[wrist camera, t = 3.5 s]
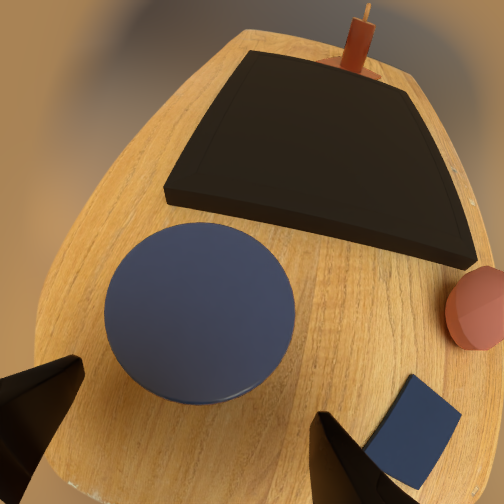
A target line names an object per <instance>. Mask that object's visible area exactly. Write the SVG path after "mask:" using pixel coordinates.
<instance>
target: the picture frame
mask: <svg viewBox="0 0 504 504" xmlns="http://www.w3.org/2000/svg"><path fill="white" fill-rule="evenodd" d="M163 188H164V192H165V197H166V201H167V204H168V205H174V206H180V207H185V208H191V209H197V210H202V211H207V212H213V213H218V214H223V215H229V216H234V217H239V218H244V219H249V220H254V221H259V222H264V223H269V224H274V225H279V226H283V227H288V228H293V229H298V230H302V231H307V232H311V233H316V234H320V235H325V236H329V237H334V238H338V239H343V240H347V241H351V242H355V243H360V244H364V245H368V246H372V247H376V248H381V249H385V250H389V251H393V252H397V253H401V254H405V255H409V256H413V257H417V258H420V259H424V260H428V261H432V262H436V263H439V264H443V265H447V266H450V267H454V268H458V269H461V270H467V269H468V268H469V267H471V266H472V265H473V264H474V263H476V262H477V261H478V259H477V255H476V251H475V247H474V243H473V239H472V236H471V232H470V229H469V226H468V223H467V219H466V216H465V213H464V210H463V207H462V205H461V202H460V199H459V196H458V194H457V191H456V188H455V186H454V183H453V181H452V178H451V176H450V174H449V171H448V169H447V167H446V165H445V162H444V160H443V158H442V156H441V154H440V152H439V150H438V147H437V145H436V143H435V141H434V139H433V138H432V136H431V134H430V132H429V130H428V128H427V126H426V124H425V123H424V121H423V119H422V117H421V116H420V114H419V112H418V110H417V109H416V107H415V105H414V104H413V102H412V101H411V99H410V97H409V96H408V94H407V93H406V92H405V91H403V90H400V89H398V88H396V87H393V86H391V85H388V84H385V83H383V82H380V81H377V80H375V79H372V78H369V77H366V76H363V75H360V74H357V73H354V72H351V71H347V70H344V69H341V68H337V67H334V66H330V65H326V64H322V63H318V62H314V61H310V60H305V59H301V58H296V57H291V56H285V55H280V54H274V53H267V52H260V51H252V50H250V51H249V52H248V53H247V55H246V56H245V57H244V59H243V60H242V61H241V63H240V64H239V65H238V67H237V68H236V69H235V71H234V72H233V74H232V75H231V76H230V78H229V79H228V81H227V82H226V83H225V85H224V86H223V88H222V89H221V91H220V92H219V94H218V95H217V97H216V98H215V100H214V101H213V103H212V104H211V106H210V107H209V109H208V110H207V112H206V113H205V115H204V117H203V118H202V120H201V121H200V123H199V125H198V126H197V128H196V130H195V131H194V133H193V135H192V136H191V138H190V140H189V141H188V143H187V145H186V146H185V148H184V150H183V152H182V153H181V155H180V157H179V159H178V160H177V162H176V164H175V166H174V168H173V170H172V171H171V173H170V175H169V177H168V179H167V181H166V183H165V185H164V186H163Z"/></svg>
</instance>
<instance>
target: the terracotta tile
mask: <svg viewBox="0 0 504 504" xmlns="http://www.w3.org/2000/svg"><path fill="white" fill-rule="evenodd" d="M341 59H342V57H340V56H338V57H333V58H328V59H323V60H318V61H316V62H318V63H322V64H326V65H330V66H334V67H337V68H341V69H344V70H347V69H345V68H343V67H342V66H341V65H340V62H341ZM347 71H349V70H347ZM351 72H352V71H351ZM354 73H357V72H354ZM357 74H360V75H363V76H366V77H369V78H372V79H375V80H378V79H380V78H381V77H382V76H380V75H378V74H376V73H374V72H372V71H370V70H368V69H366V68H364V67H363V69H362V72H361V73H357Z"/></svg>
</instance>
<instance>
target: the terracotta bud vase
mask: <svg viewBox="0 0 504 504" xmlns="http://www.w3.org/2000/svg"><path fill="white" fill-rule="evenodd" d="M445 316H446V323H447V327H448V330H449V332H450V335H451V337H452V338H453V340H454V341H455V343H456V344H457V345H458V346H460V347H461V348H462V349H464V350H489V349H490V348H492V347H494V346H495V345H496V344H498V343H499V342H501V341H502V340H503V339H504V272H503V271H500V270H497V269H495V268H492V267H490V266H483V267H480V268H478V269H476V270H473V271H471V272H469V273H467V274H465V275H464V276H463V277H462V278H461V279H460V280H459V281H458V283H457V284H456V286H455V287H454V289H453V290H452V291H451V293H450V294H449V296H448V299H447V302H446V309H445Z"/></svg>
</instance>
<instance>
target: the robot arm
mask: <svg viewBox="0 0 504 504" xmlns="http://www.w3.org/2000/svg"><path fill="white" fill-rule="evenodd" d="M84 377H85V371H84V366H83V362H82V359H81V358H80V357H78V356H76V355H73V354H72V355H69V356H66V357H63V358H60V359H57V360H54V361H52V362H49V363H46V364H43V365H40V366H37V367H34V368H32V369H28V370H26V371H22V372H20V373H16V374H14V375H10V376H8V377H5V378H1V379H0V499H1V500H2V501H3V502H4V503H5V504H19V503H20V501H21V499H22V497H23V494H24V492H25V490H26V488H27V486H28V484H29V482H30V480H31V477H32V475H33V473H34V472H35V469H36V468H37V466H38V464H39V462H40V460H41V458H42V456H43V454H44V453H45V451H46V449H47V447H48V445H49V443H50V442H51V440H52V438H53V436H54V435H55V433H56V431H57V429H58V428H59V426H60V424H61V422H62V421H63V419H64V417H65V416H66V414H67V412H68V411H69V409H70V407H71V405H72V403H73V401H74V399H75V397H76V395H77V392H78V390H79V388H80V386H81V384H82V382H83V380H84ZM309 470H310V479H311V489H312V500H313V504H419V503H418V502H417V501H415V500H414V499H413V498H412V497H410V496H409V495H408V494H406V493H405V492H404V491H403V490H402V489H400V488H399V487H398V486H397V485H396V484H395V483H394V482H393V481H392V480H391V479H390V478H389V477H388V476H387V475H386V474H385V473H384V472H383V471H381V469H380V468H379V467H378V466H377V465H376V464H375V463H374V462H373V461H372V459H371V458H370V457H369V456H368V455H367V454H366V453H365V452H364V451H363V450H362V449H361V447H360V446H359V445H358V444H357V443H356V442H355V441H354V440H353V439H352V437H351V436H350V435H349V434H348V433H347V432H346V431H345V430H344V428H343V427H342V426H341V425H340V424H339V423H338V422H337V420H336V419H335V418H334V417H333V416H332V415H331V413H330V412H328V411H318V412H317V413H316V415H315V417H314V419H313V421H312V423H311V425H310V434H309Z"/></svg>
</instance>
